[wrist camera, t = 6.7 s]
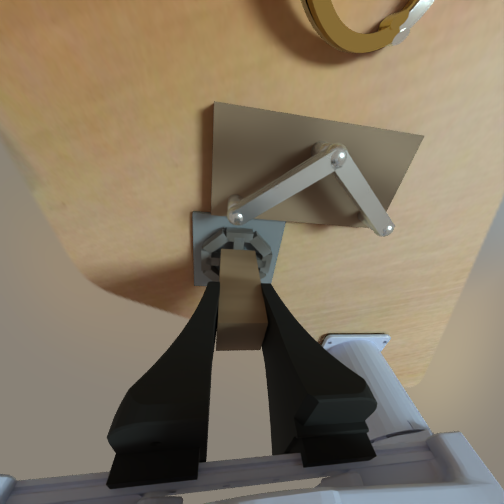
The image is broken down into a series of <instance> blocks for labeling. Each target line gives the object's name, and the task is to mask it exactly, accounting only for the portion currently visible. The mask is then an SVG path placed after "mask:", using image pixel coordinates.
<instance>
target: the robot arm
mask: <svg viewBox="0 0 504 504" xmlns="http://www.w3.org/2000/svg"><path fill="white" fill-rule="evenodd" d="M261 289H262V294H263V298H264V303H265V308H266V314H267V319H268V325H267V329H266V332H265V336H264V339H263V342H262V351H263V356H264V361H265V369H266V378H267V389H268V399H269V412H270V424H271V441H272V456H263V457H254V458H243V459H232V460H223V461H213V462H206V457H207V439H208V421H209V405H210V388H211V370H212V360H213V352H214V345H215V337H216V331H217V320H218V305H219V295H220V282H214V281H209V282H208V283H207V287H206V290H205V292H204V295H203V297H202V299H201V301H200V303H199V305H198V307H197V309H196V310H195V312H194V314H193V315H192V317H191V318H190V320H189V322H188V323H187V325H186V326H185V328H184V329H183V331H182V332H181V333H180V335H179V336H178V337H177V339H176V340H175V341H174V342H173V343H172V345H171V346H170V347H169V348H168V350H167V351H166V352H165V353H164V354H163V355H162V356H161V357H160V359H159V360H158V361H157V362H156V363H155V364H154V365H153V366H152V367H151V368H150V369H149V370H148V371H147V372H146V373H145V374H144V375H143V376H142V377H141V378H140V379H139V380H138V381H137V382H136V383H135V384H134V385H133V386H132V387H131V388H130V389H129V390H128V392H127V393H126V395H125V397H124V399H123V400H122V402H121V404H120V406H119V408H118V410H117V412H116V414H115V416H114V419H113V422H112V425H111V427H110V430H109V433H108V435H107V439H108V442H109V444H110V445H111V447H112V448H113V449H114V451H115V452H116V455H115V458H114V461H113V464H112V467H111V470H110V472H100V473H90V474H80V475H70V476H61V477H51V478H39V479H29V480H19V481H17V480H16V478H14V477H13V476H10V475H5V474H0V504H183V498H182V497H175V496H168V495H176V494H185V493H193V492H201V491H210V490H218V489H226V488H235V487H243V486H252V485H260V484H269V483H276V482H285V481H293V480H301V479H310V478H319V477H327V476H330V477H327V478H323V479H322V480H321V483H320V484H319V485H318V486H316V487H315V488H307V489H295V490H284V491H276V492H268V493H261V494H255V495H248V496H242V497H236V498H231V499H226V500H220V501H215V502H210V503H204V504H504V490H503V489H502V487H501V486H500V484H499V483H498V482H497V480H496V479H495V478H494V476H493V475H492V474H491V472H490V471H489V470H488V468H487V467H486V466H485V464H484V463H483V461H482V460H481V459H480V457H479V456H478V455H477V453H476V452H475V451H474V449H473V448H472V446H471V445H470V444H469V443H468V441H467V440H466V439H465V437H464V436H463V434H462V433H461V432H459V431H454V432H444V433H437V434H433V433H432V431H431V430H430V428H429V427H428V425H427V424H426V422H425V421H424V419H423V417H421V414H420V413H419V411H418V410H417V408H416V407H415V405H414V403H413V402H412V400H411V399H410V397H409V396H408V394H407V393H406V391H405V389H404V388H403V386H402V385H401V383H400V382H399V380H398V379H397V377H396V375H395V374H394V372H393V371H392V369H391V368H390V366H389V365H388V363H387V361H386V360H385V358H384V357H383V355H382V354H381V351H382V349H383V348H384V347H385V345H386V344H387V343H388V342H389V340H390V339H391V337H390V336H389V335H388V334H349V335H328V336H326V338H325V340H324V342H323V343H322V345H320V344H319V343H318V342H317V341H315V340H314V339H313V338H312V337H311V336H310V335H309V333H308V332H307V331H306V330H305V329H304V328H303V327H302V326H301V325H300V324H299V322H298V321H297V320H296V319H295V318H294V316H293V315H292V314H291V313H290V311H289V310H288V309H287V307H286V306H285V304H284V303H283V302H282V300H281V299H280V297H279V296H278V294H277V293H276V291H275V290H274V288H273V286H272V285H271V284H270V283H261Z"/></svg>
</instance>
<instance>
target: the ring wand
mask: <svg viewBox="0 0 504 504" xmlns="http://www.w3.org/2000/svg"><path fill="white" fill-rule="evenodd" d="M228 241H231V242H233V249H221V253H218V252H214V251H215V250H217V249H218V248H219V247H221V246H222V245H224V244H225V243H226V242H228ZM244 242H247V243H251V244H252V245H253V246H254V247H255V248H256V249H257V250H258V251H259V252H260V253H261V255H256V253H255V251H252V250H243V248H244ZM272 256H273V255H272V251H271V247H270V246H269V245H268V243H267V242H266V241H265V240H264V239H263V238H262V237H261V236H260V234H259V233H258V232H257V231H255V232H253V229H246V228H232V227H227V230H226V231H225V230H224V229H223V228H222V229H221V230H220V231H218V232H217V233H216V234H214V235H213V236H212V237H210V238H209V239H208V240H206V241H205V242H204V244H203V246H202V249H201V271H203V274H204V275H205V276H207V277H208V278H209V279H211V280H212V281H214V282H220V295H219V305H218V320H217V339H216V340H217V341H216V351H226V350H227V351H229V350H260V349H261V346H262V342H263V339H264V336H265V332H266V329H267V325H268V319H267V314H266V308H265V303H264V298H263V294H262V289H261V281H260V279H262V278H264V277H265V276H266V273H268V272H269V268H270V264H271V260H272ZM215 266H220V271H219V270H218V269H217V268H216V267H215Z"/></svg>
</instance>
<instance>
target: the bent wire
mask: <svg viewBox="0 0 504 504" xmlns="http://www.w3.org/2000/svg"><path fill="white" fill-rule="evenodd" d="M311 156H312V157H311V158H309V159H308V160H306V161H304V162H303V163H301V164H300V165H298V166H296V167H295V168H293V169H291V170H290V171H288V172H286V173H285V174H283V175H282V176H280V177H278V178H277V179H275V180H273V181H272V182H270V183H269V184H267V185H265V186H264V187H262V188H260V189H259V190H257V191H256V192H254V193H252V194H251V195H249V196H247V197H246V198H244V199H243V198H242V197H241V196H240V195H236V194H235V195H232V196H230V197H229V199H228V211H227V219H228V221H229V222H230V223H231V224H233V225H243V224H245V223H246V222H248V221H250V220H252V219H253V218H255V217H257V216H258V215H260V214H262V213H264V212H265V211H267V210H269V209H270V208H272V207H274V206H276V205H277V204H279V203H281V202H282V201H284V200H286V199H288V198H289V197H291V196H293V195H294V194H296V193H298V192H300V191H301V190H303V189H305V188H306V187H308V186H310V185H312V184H313V183H315V182H317V181H318V180H320V179H322V178H324V177H325V176H327V175H329V174H330V173H332V174H333V175H334V177H335V178H336V180H337V181H338V182H339V184H340V185H341V186H342V188H343V189H344V191H345V192H346V193H347V195H348V196H349V197H350V199H351V200H352V202H353V203H354V204H355V206H356V207H357V209H358V210H359V211H360V212H359V213H358V219H359V220H360V221H361V222H363V223H364V224H365V225H366V226H368V227H369V228H370V229H371V230H373V231H374V233H375V234H376V235H378V236H388V235H390V234H391V233H392V232H393V230H394V227H395V225H394V224H393V222H392V221H391V219H390V217H389V216H388V214H387V213H386V211H385V210H384V208H383V206H382V205H381V203H380V202H379V200H378V199H377V197H376V196H375V194H374V192H373V191H372V189H371V188H370V186H369V185H368V183H367V181H366V180H365V178H364V177H363V175H362V174H361V172H360V170H359V169H358V167H357V166H356V164H355V163H354V161H353V160H352V158H351V156H350V155H349V153H348V150H347V148H346V147H345V146H344V145H343V144H340V143H334V144H331V143H328V142H324V141H318V142H316V143H315V144H314V145H313V147H312V149H311Z"/></svg>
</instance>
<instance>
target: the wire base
mask: <svg viewBox="0 0 504 504" xmlns="http://www.w3.org/2000/svg"><path fill="white" fill-rule="evenodd" d="M423 138H424V136H422V135H416V134H410V133H404V132H398V131H392V130H386V129H380V128H374V127H367V126H361V125H355V124H349V123H343V122H337V121H331V120H325V119H319V118H312V117H306V116H300V115H294V114H288V113H282V112H276V111H270V110H264V109H258V108H251V107H245V106H239V105H233V104H227V103H221V102H215V101H214V124H213V160H212V196H211V215H216V216H227V211H228V199H229V197H230V196H232V195H235V194H236V195H240V196H241V197H242V198H243V199H244V198H246V197H247V196H249V195H251V194H252V193H254V192H256V191H257V190H259V189H260V188H262V187H264V186H265V185H267V184H269V183H270V182H272V181H273V180H275V179H277V178H278V177H280V176H282V175H283V174H285V173H286V172H288V171H290V170H291V169H293V168H295V167H296V166H298V165H300V164H301V163H303V162H304V161H306V160H308V159H309V158H311V157H312V156H311V149H312V147H313V145H314V144H315V143H316V142H318V141H324V142H328V143H331V144H334V143H340V144H343V145H344V146H345V147H346V148H347V150H348V153H349V155H350V156H351V158H352V160H353V161H354V163H355V164H356V166H357V167H358V169H359V170H360V172H361V174H362V175H363V177H364V178H365V180H366V181H367V183H368V185H369V186H370V188H371V189H372V191H373V192H374V194H375V196H376V197H377V199H378V200H379V202H380V203H381V205H382V206H383V208H384V210H385V211H387V209H388V207H389V205H390V203H391V201H392V199H393V197H394V195H395V193H396V191H397V189H398V188H399V186H400V184H401V182H402V180H403V178H404V176H405V174H406V172H407V170H408V168H409V166H410V164H411V162H412V160H413V158H414V156H415V154H416V152H417V150H418V148H419V146H420V144H421V142H422V140H423ZM359 212H360V211H359V210H358V209H357V207H356V206H355V204H354V203H353V202H352V200H351V199H350V197H349V196H348V195H347V193H346V192H345V191H344V189H343V188H342V186H341V185H340V184H339V182H338V181H337V180H336V178H335V177H334V175H333V174H332V173H330V174H329V175H327V176H325V177H324V178H322V179H320V180H318V181H317V182H315V183H313V184H312V185H310V186H308V187H306V188H305V189H303V190H301V191H300V192H298V193H296V194H294V195H293V196H291V197H289V198H288V199H286V200H284V201H282V202H281V203H279V204H277V205H276V206H274V207H272V208H270V209H269V210H267V211H265V212H264V213H262V214H260V215H258V216H257V217H255V218H253V219H265V220H277V221H290V222H302V223H314V224H327V225H339V226H351V227H364V228H369V227H368V226H366V225H365V224H364V223H363V222H361V221H360V220H359V219H358V213H359Z"/></svg>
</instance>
